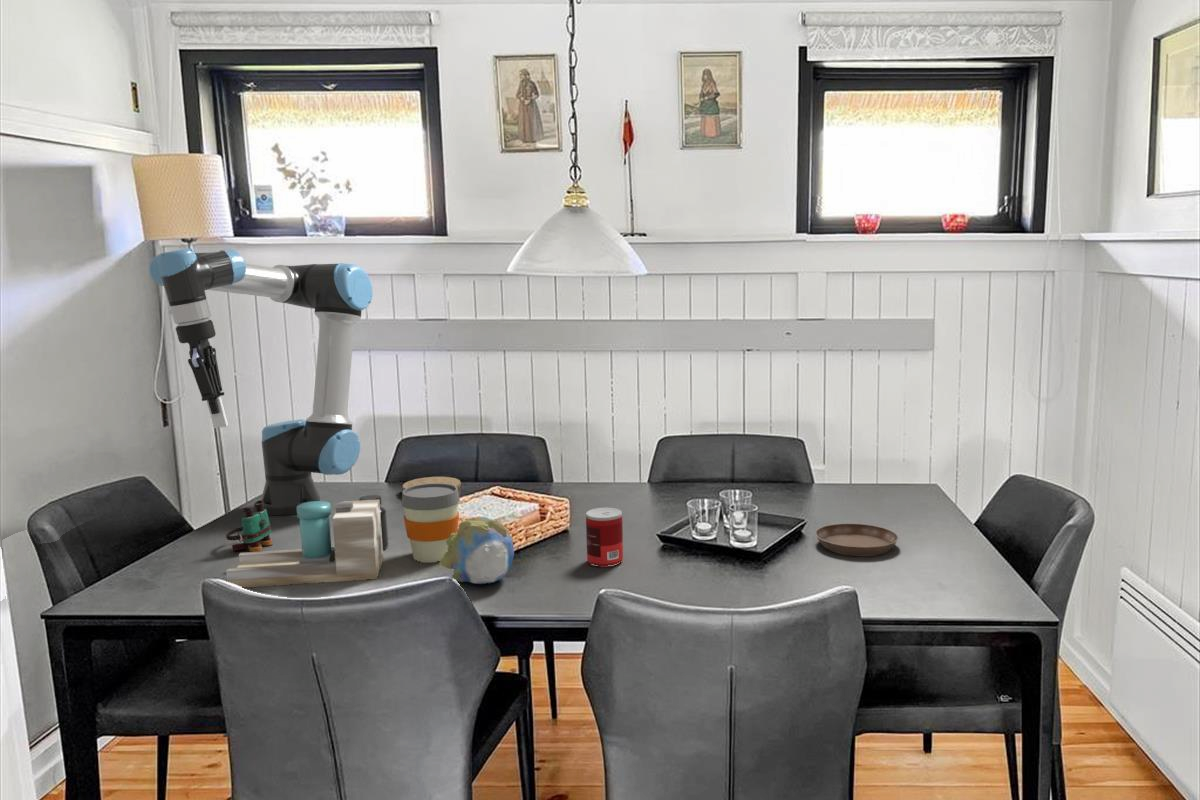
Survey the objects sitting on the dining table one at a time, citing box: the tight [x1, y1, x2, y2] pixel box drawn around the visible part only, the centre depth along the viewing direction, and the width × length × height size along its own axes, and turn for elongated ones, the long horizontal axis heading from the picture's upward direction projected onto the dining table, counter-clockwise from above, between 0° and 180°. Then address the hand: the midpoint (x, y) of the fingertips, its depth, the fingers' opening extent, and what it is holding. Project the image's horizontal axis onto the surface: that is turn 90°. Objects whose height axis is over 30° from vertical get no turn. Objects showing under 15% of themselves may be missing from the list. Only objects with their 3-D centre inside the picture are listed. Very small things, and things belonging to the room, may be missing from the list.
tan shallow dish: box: [402, 476, 462, 495], centre depth 264 cm, size 16×16×3 cm
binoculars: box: [225, 499, 273, 552], centre depth 220 cm, size 9×11×10 cm
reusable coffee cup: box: [401, 483, 460, 563], centre depth 210 cm, size 13×13×15 cm
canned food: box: [585, 507, 624, 566], centre depth 204 cm, size 8×8×11 cm
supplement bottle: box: [358, 494, 390, 551], centre depth 217 cm, size 7×7×12 cm
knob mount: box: [225, 499, 384, 588], centre depth 201 cm, size 13×30×14 cm, turn 97°
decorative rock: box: [439, 516, 515, 585], centre depth 195 cm, size 14×16×15 cm
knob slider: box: [296, 500, 335, 564], centre depth 201 cm, size 7×7×13 cm
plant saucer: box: [815, 523, 899, 557], centre depth 211 cm, size 18×18×3 cm
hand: (221, 426), depth 210 cm, fingers closed
